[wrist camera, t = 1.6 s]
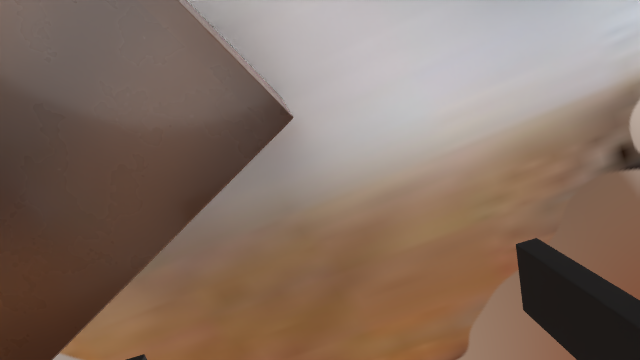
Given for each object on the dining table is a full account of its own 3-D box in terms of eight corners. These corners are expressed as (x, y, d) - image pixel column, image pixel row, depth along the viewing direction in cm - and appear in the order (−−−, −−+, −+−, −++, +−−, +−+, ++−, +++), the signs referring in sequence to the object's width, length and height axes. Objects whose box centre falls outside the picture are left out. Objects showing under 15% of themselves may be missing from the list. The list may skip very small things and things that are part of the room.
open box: (-47, 164, 35) (-504, 282, 14) (141, -46, 32) (-84, -266, 12) (107, 275, 39) (-73, 484, 19) (282, 98, 37) (293, 117, 16)
